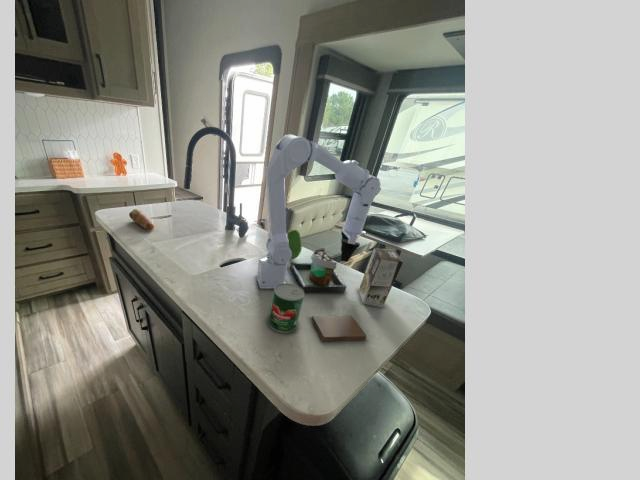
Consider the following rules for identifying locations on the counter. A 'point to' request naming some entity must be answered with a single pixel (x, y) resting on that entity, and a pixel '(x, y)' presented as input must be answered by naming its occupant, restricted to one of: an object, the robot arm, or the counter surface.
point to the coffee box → (379, 276)
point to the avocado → (294, 242)
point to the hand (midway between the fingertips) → (344, 256)
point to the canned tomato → (286, 307)
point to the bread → (141, 219)
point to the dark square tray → (337, 288)
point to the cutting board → (338, 328)
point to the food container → (321, 267)
